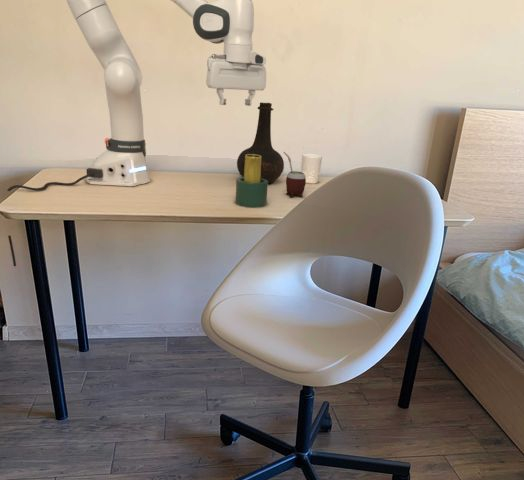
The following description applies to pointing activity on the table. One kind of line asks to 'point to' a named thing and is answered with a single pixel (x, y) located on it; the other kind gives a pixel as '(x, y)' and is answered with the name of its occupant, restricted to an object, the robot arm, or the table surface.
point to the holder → (251, 193)
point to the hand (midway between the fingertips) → (235, 105)
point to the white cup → (311, 167)
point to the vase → (252, 168)
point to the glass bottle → (264, 148)
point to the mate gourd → (295, 182)
